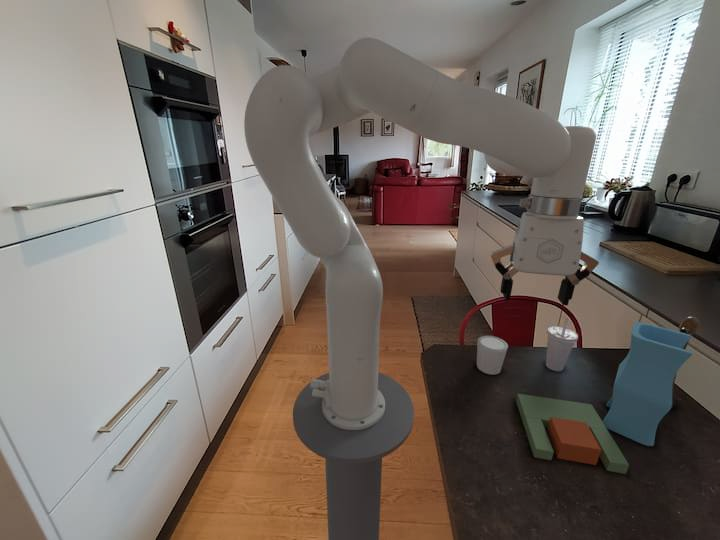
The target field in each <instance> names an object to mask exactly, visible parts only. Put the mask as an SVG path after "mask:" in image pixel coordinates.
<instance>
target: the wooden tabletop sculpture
mask: <svg viewBox="0 0 720 540" xmlns="http://www.w3.org/2000/svg"><path fill="white" fill-rule="evenodd" d="M700 326H701V323H700V320H699V319H698V318H697V317H695V316H688V317H684V318H683V319H682V320H681V321H680V324H679V329H678V330H679V332H681V333H685V334H689V335H691V337H692V336H693V335H695V334H697V333H698V331H699V329H700ZM689 342H690V340H689V341H688V342H687V343H686V344H685V346H684V347H683V348H682V349H685V350H687V347H688V344H689ZM677 374H678V372H677V373H676V375H675V377H674V381H673V385H672V407H671V409H673V408H674V407H675V406H676V404H677V396H676V394H675V393H674V389H675V382H676V379H677Z"/></svg>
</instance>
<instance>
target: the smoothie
mask: <svg viewBox="0 0 720 540" xmlns="http://www.w3.org/2000/svg"><path fill="white" fill-rule="evenodd" d="M568 322H569V316H565V319H564V323H563V326H559V325H554V326H553V325H552V326H549V327H547V331H546V335H547V343H546V357H545V366H546V367H547V368H548V369H549V370H551V371H554V372H563V370H564V368H565V366H566V363H567V361H568V359H569V357H570V355H571V352H572V351H573V348H574V345H575V344H576V343H577V342H578V340H579V334H578V333H576V331H574V330H572V329H570V328H567V326H568Z"/></svg>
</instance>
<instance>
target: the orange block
mask: <svg viewBox="0 0 720 540" xmlns="http://www.w3.org/2000/svg"><path fill="white" fill-rule="evenodd" d="M546 433H547V436H548V438H549V441H550V443H551V446H552V448H553V451H554V453H555V456H556V459H558V460H565V461H570V462H575V463H581V464H587V465H592V466H597V464H598V461H599V459H600V457H599V455H600V452H601V448H600V447H599V445H598V443H597V441H596V439H595V438H594V436H593V434H592V432H591V430H590V429H589V427H588V425H587V423H586V422H580V421H573V420H567V419H561V418H554V417H550V420H549V424H548V428H546Z"/></svg>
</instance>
